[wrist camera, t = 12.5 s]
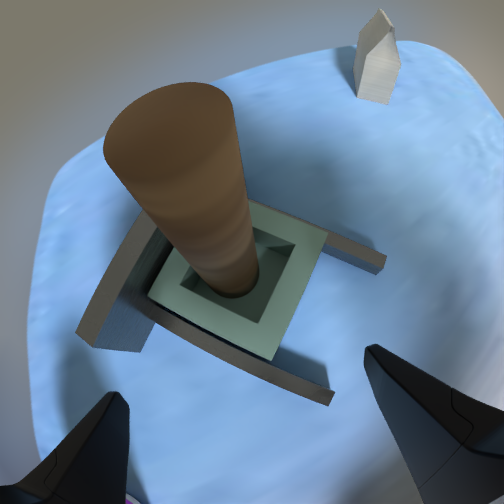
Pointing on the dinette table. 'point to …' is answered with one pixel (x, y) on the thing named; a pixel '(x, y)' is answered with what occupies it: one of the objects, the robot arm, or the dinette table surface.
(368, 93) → the gable top carton
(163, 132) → the walnut dowel
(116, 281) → the rail and backstop frame
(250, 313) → the sliding socket block
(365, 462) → the dinette table surface
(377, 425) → the dinette table surface
